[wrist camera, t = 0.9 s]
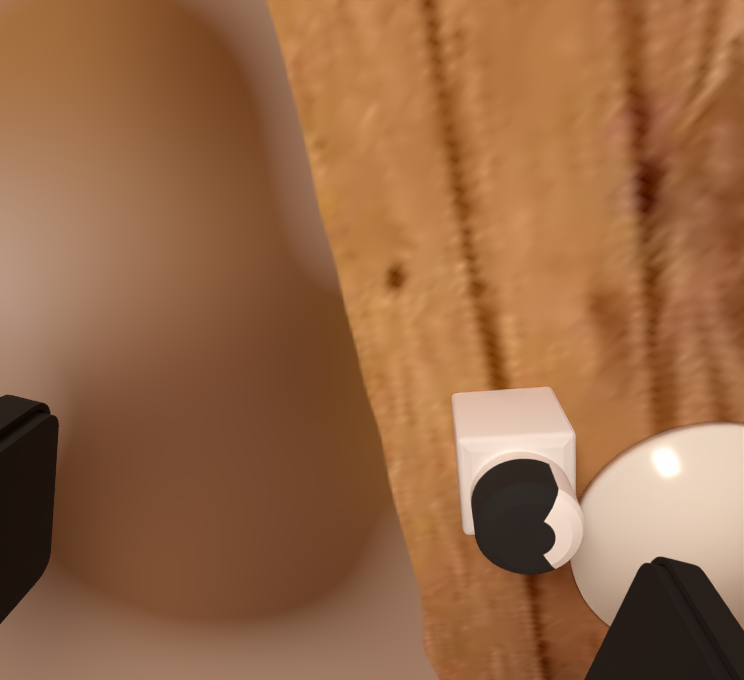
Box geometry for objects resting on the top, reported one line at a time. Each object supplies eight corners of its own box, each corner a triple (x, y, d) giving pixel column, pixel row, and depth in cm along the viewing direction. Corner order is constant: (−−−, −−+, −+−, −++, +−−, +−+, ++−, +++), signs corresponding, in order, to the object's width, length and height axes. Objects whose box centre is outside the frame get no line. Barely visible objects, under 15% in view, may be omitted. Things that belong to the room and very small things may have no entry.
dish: (740, 366, 39) (749, 373, 38) (900, 548, 43) (913, 559, 42) (514, 530, 45) (516, 539, 44) (671, 677, 49) (677, 690, 48)
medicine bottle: (457, 476, 44) (469, 593, 33) (450, 391, 42) (461, 485, 30) (553, 471, 43) (599, 589, 32) (551, 384, 41) (601, 478, 30)
